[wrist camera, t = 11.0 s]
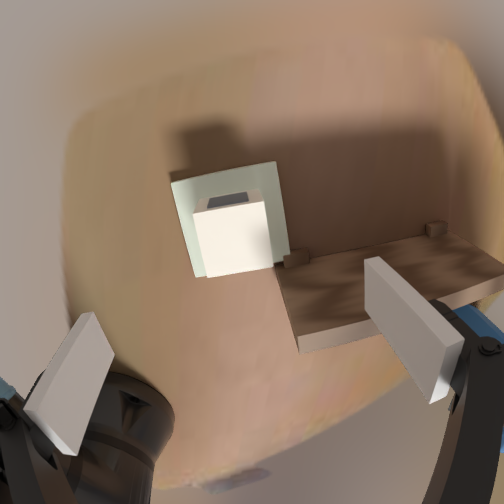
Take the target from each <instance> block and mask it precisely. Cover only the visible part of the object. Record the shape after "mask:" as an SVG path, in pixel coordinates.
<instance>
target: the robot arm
mask: <svg viewBox="0 0 504 504" xmlns="http://www.w3.org/2000/svg"><path fill="white" fill-rule="evenodd" d="M364 272H365V310H366V312H367V313H368V315H369V316H370V317H371V319H372V320H373V322H374V323H375V324H376V326H377V327H378V329H379V330H380V331H381V333H382V334H383V336H384V337H385V339H386V340H387V341H388V343H389V344H390V346H391V347H392V349H393V350H394V352H395V353H396V355H397V356H398V357H399V359H400V360H401V362H402V363H403V365H404V366H405V368H406V369H407V371H408V372H409V374H410V375H411V377H412V378H413V380H414V381H415V383H416V384H417V386H418V387H419V389H420V390H421V392H422V394H423V395H424V397H425V398H426V400H427V401H428V403H429V404H430V403H432V402H435V401H437V400H439V399H441V398H443V397H445V396H446V395H447V392H448V389H449V387H450V386H451V387H452V388H453V390H454V391H455V394H454V396H453V399H452V401H451V403H450V406H449V408H448V410H450V414H449V419H448V423H447V428H446V431H445V435H444V439H443V443H442V446H441V450H440V454H439V457H438V460H437V463H436V466H435V469H434V472H433V475H432V478H431V481H430V484H429V486H428V489H427V492H426V494H425V497H424V499H423V502H422V504H489V503H490V498H491V495H492V491H493V486H494V481H495V477H496V472H497V466H498V461H499V455H500V448H501V441H502V432H503V427H504V344H501V342H500V341H498V340H497V339H495V338H493V337H489V336H483V337H479V336H478V335H477V334H476V333H475V332H474V331H473V330H472V329H471V328H470V327H469V326H468V325H467V324H466V323H465V322H464V321H463V320H462V319H461V318H459V317H458V315H457V314H456V313H455V312H453V310H451V309H450V308H449V307H448V306H447V305H446V304H445V303H443V302H441V301H439V300H436V299H432V300H429V301H427V300H426V299H425V298H424V297H423V296H421V295H420V294H419V293H418V292H417V291H416V290H415V289H414V288H413V287H412V286H411V285H410V284H409V283H408V282H407V281H406V280H404V279H403V278H402V277H401V276H400V275H399V274H398V273H397V272H396V271H395V270H394V269H392V268H391V267H390V266H389V265H388V264H387V263H386V262H385V261H384V260H382V259H381V258H380V257H379V256H377V257H373V258H369V259H364ZM114 356H115V354H114V352H113V350H112V348H111V346H110V344H109V343H108V341H107V339H106V337H105V335H104V333H103V331H102V328H101V326H100V324H99V322H98V320H97V318H96V316H95V314H94V312H88V313H82V314H81V315H80V317H79V318H78V320H77V321H76V323H75V324H74V326H73V327H72V329H71V330H70V332H69V333H68V335H67V336H66V338H65V339H64V341H63V343H62V344H61V346H60V347H59V349H58V350H57V352H56V353H55V355H54V357H53V358H52V360H51V362H50V363H49V365H48V366H47V368H46V369H45V370H44V371H43V372H42V373H41V374H40V375H39V377H38V378H37V380H36V381H35V383H34V386H33V387H32V388H31V390H30V391H31V392H29V394H28V396H27V397H26V399H25V400H24V399H23V398H22V397H21V396H20V395H19V394H18V393H17V392H16V390H15V388H14V387H13V386H10V385H8V384H7V383H6V382H5V381H4V380H3V379H2V378H1V377H0V504H150V497H151V489H152V481H153V472H154V466H155V462H156V460H157V459H158V457H159V456H160V454H161V452H162V451H163V449H164V447H165V446H166V444H167V442H168V440H169V439H170V438H171V436H172V433H173V428H174V421H175V416H174V412H173V409H172V407H171V406H170V404H169V403H168V402H167V400H166V399H165V398H164V397H163V396H162V395H161V394H159V393H158V392H157V391H155V390H154V389H153V388H151V387H149V386H148V385H146V384H144V383H142V382H140V381H138V380H136V379H134V378H131V377H128V376H125V375H122V374H118V373H113V372H108V370H109V368H110V365H111V363H112V360H113V358H114Z"/></svg>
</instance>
